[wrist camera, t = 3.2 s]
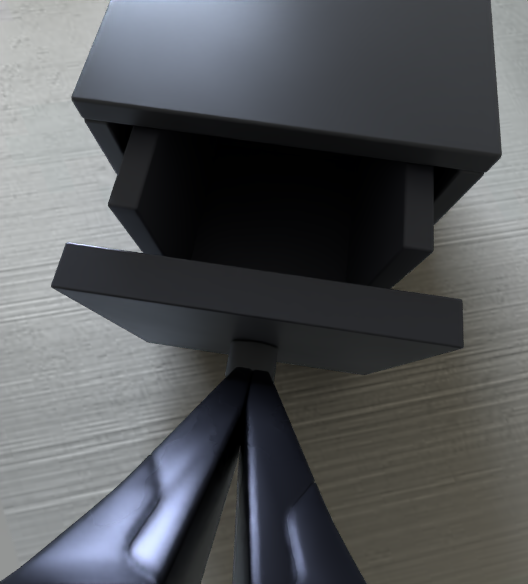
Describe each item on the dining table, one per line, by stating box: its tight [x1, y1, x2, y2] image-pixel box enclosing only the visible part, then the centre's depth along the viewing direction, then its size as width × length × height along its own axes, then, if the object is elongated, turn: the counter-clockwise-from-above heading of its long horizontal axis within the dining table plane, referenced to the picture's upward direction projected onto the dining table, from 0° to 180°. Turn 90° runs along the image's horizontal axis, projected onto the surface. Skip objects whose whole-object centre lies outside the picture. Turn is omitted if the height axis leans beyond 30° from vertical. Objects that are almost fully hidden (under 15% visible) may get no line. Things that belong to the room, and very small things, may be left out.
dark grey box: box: [72, 0, 502, 225], centre depth 15 cm, size 12×11×9 cm
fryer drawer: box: [51, 125, 464, 383], centre depth 13 cm, size 12×10×8 cm
